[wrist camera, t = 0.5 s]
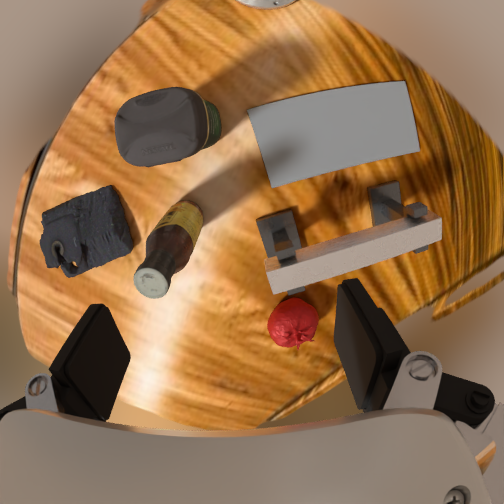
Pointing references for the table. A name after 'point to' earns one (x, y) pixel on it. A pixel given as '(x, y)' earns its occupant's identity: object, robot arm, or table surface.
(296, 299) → the pomegranate
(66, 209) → the dark grey notched piece
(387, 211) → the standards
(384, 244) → the hang bar
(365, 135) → the mat
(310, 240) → the table surface
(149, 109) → the coffee jar
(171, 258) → the sauce bottle
